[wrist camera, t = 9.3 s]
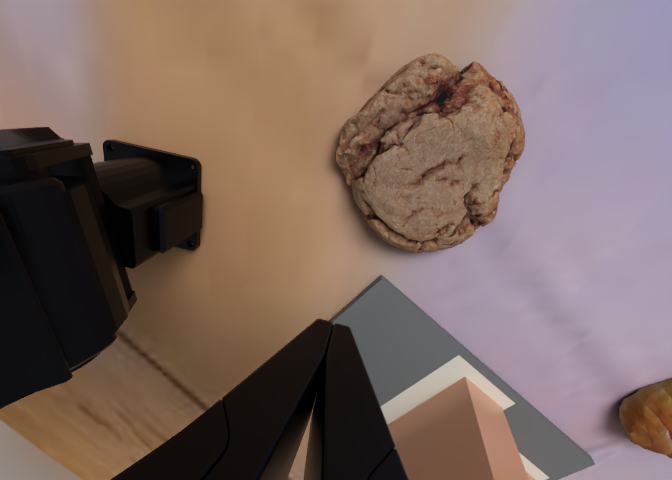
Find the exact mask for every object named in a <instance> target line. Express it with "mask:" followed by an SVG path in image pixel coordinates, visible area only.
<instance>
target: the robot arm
mask: <svg viewBox="0 0 672 480" xmlns="http://www.w3.org/2000/svg"><path fill="white" fill-rule="evenodd" d="M111 145H112V146H113V148H114V151H113V150H112V148H111ZM103 152H104V161H103V162H98V163H93V162H92V158H91V155H93V153H92V150H91V146H90V143H74V142H73V140H64V138H60V137H59V136H58V135H57V134H56V133H55V132H53V131H52V130H51V129H50V128H49V127H34V128H17V129H1V130H0V409H1V408H3V407H5V406H6V405H8V404H11V403H13V402H15V401H17V400H19V399H22V398H24V397H26V396H28V395H30V394H33V393H35V392H37V391H40V390H43V389H46V388H49V387H52V386H55V385H58V384H61V383H64V382H67V381H68V380H70V379H71V378H72V376H73V375H72V373H71V372H73V371H75V370H77V369H79V368H81V367H82V366H84V365H85V364H87V363H88V362H90V361H91V360H93V359H94V358H95V357H96V356H97V355H99V354H100V353H101V352H102V351H103V350H105V349H106V348H107V347H109V346H110V345H111V344H112V343H113V342H114V341H115V339H116V338H117V335H116V331H117V330H118V329H119V327H120V326H121V325H122V324H123V322H124V321H125V320H126V318H127V317H128V313H129V311H130V310H131V308H132V307H133V305H134V304H135V302H136V301H137V298H136V294H135V291H133V290H132V288H131V285H130V282H129V279H128V275H127V272H126V269H125V267H128V268H135V267H137V266H138V265H140V264H141V263H143V262H145V261H146V260H148V259H149V258H151V257H152V256H154V255H156V254H157V253H165V252H166V251H168V250H169V249H171V248H172V247H174V246H175V247H179V248H183V249H187V250H195V249H196V248H198V247H199V246H200V229H201V228H202V205H203V195H202V193H201V164H200V162H199V161H198V160H197V159H195V158H192V157H188V156H184V155H179V154H175V153H170V152H166V151H162V150H157V149H153V148H148V147H144V146H140V145H135V144H131V143H126V142H122V141H117V140H106V141H104V143H103ZM190 163H192V164H193V165H194V169H192V168H191V167H190ZM190 241H192V242H193V244H194V245H192V244H191V243H190ZM332 328H333V329H332ZM315 398H316V399H315ZM314 402H315V403H314ZM313 406H314V408H313ZM312 409H313V412H312ZM311 413H312V418H311V425H310V433H309V440H308V448H307V456H306V464H305V472H304V480H409V479H408V476H407V474H406V471H405V469H404V466H403V464H402V461H401V458H400V456H399V453H398V451H397V449H395V443H394V440H393V438H392V435H391V433H390V430H389V427H388V425H387V422H386V420H385V417H384V414H383V412H382V409H381V406H380V404H379V401H378V399H377V396H376V393H375V391H374V388H373V386H372V383H371V380H370V378H369V375H368V373H367V370H366V367H365V365H364V362H363V359H362V357H361V354H360V352H359V349H358V346H357V344H356V341H355V339H354V336H353V333H352V331H351V328H350V327H349V326H346V325H342V324H338V323H335V324H334V325H333V323H332V322H330V321H326V320H322V319H317V320H316V321H314V322H313V323H312V324H311V325H310V326H308V327H307V328H306V329H305V330H304V331H302V332H301V333H300V334H299V335H298V336H296V337H295V338H294V339H293V340H292V341H290V342H289V343H288V344H287V345H286V346H284V347H283V348H282V349H281V350H280V351H278V352H277V353H276V354H275V355H274V356H272V357H271V358H270V359H269V360H267V361H266V362H265V363H264V364H263V365H261V366H260V367H259V368H258V369H257V370H255V371H254V372H253V373H252V374H251V375H249V376H248V377H247V378H246V379H245V380H243V381H242V382H241V383H240V384H239V385H237V386H236V387H235V388H234V389H233V390H231V391H230V392H229V393H228V394H227V395H225V396H224V397H223V399H222V400H219V401H218V402H217V403H215V404H214V405H213V406H212V407H211V408H210V409H208V410H207V411H206V412H205V413H203V414H202V415H201V416H200V417H198V418H197V419H196V420H195V421H193V422H192V423H191V424H189V425H188V426H187V427H186V428H184V429H183V430H182V431H180V432H179V433H178V434H176V435H175V436H173V437H172V438H171V439H169V440H168V441H166V442H165V443H163V444H162V445H161V446H159V447H158V448H156V449H155V450H154V451H152V452H151V453H149V454H148V455H146V456H145V457H143V458H142V459H140V460H139V461H137V462H136V463H134V464H133V465H131V466H130V467H128V468H127V469H126V470H124V471H123V472H121V473H120V474H118V475H117V476H115V477H114V478H112V479H111V480H287V477H288V475H289V472H290V469H291V467H292V464H293V461H294V459H295V456H296V454H297V451H298V448H299V446H300V443H301V440H302V438H303V435H304V432H305V430H306V427H307V425H308V422H309V419H310V416H311Z"/></svg>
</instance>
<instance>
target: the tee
mask: <svg viewBox="0 0 672 480" xmlns="http://www.w3.org/2000/svg"><path fill="white" fill-rule="evenodd" d="M388 427H389V430H390V433H391V435H392V438H393V440H394V443H395V449H397V451H398V453H399V456H400V458H401V461H402V464H403V466H404V469H405V471H406V474H407V476H408V479H409V480H536V479H534V478H533V477H532V476H531V475H530V474H528V473H527V472H526V470H525V467H524V465H523V462H522V459H521V457H520V454H519V451H518V449H517V446H516V443H515V441H514V438H513V435H512V433H511V430H510V427H509V425H508V422H507V419H506V417H505V414H504V411H503V409H502V407H501V406H499V405H498V404H497V403H496V402H495V401H493V400H492V399H491V398H490V397H489V396H488V395H486V394H485V393H484V392H483V391H482V390H481V389H479V388H478V387H477V386H476V385H475V384H473V383H472V382H471V381H470V380H469V379H468V378H466V377H463V378H462V379H460V380H459V381H457V382H455V383H454V384H452V385H451V386H449V387H447V388H446V389H444V390H442V391H441V392H439V393H438V394H436V395H434V396H433V397H431V398H430V399H428V400H426V401H425V402H423V403H422V404H420V405H418V406H417V407H415V408H414V409H412V410H410V411H409V412H407V413H406V414H404V415H402V416H401V417H399V418H397V419H396V420H394V421H393V422H391V423H389V424H388Z"/></svg>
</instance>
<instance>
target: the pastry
mask: <svg viewBox="0 0 672 480" xmlns="http://www.w3.org/2000/svg"><path fill="white" fill-rule="evenodd" d="M619 418H620V421H621V423H622V425H623V427H624V429H625V431H626V434H627V436H628V438H629V439H630V440H631V442H633V443H635V444H638V445H640V446H641V447H643V448H644V449H648V450H651V451H653V452H656V453H661V454H664V455H667V456H668V457H670V458H672V378H671V379H668V380H665V381H661V382H658V383H655V384H651V385H648V386H645V387H643V388H640V389H639V390H638V391H637V392H636V393H635V394H633V395H631V396H628V397H626V398H625V399H623V402H622V404H621V405H620V407H619Z"/></svg>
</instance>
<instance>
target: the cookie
mask: <svg viewBox="0 0 672 480" xmlns="http://www.w3.org/2000/svg"><path fill="white" fill-rule="evenodd" d="M458 70H459V69H458V68H457V67H456V66H455V65H453V64H452V63H451V62H450V61H449V60H448V59H447V58H445V57H443V56H442V55H439V54H436V53H434V54H428V55H424V56H422V57H419V58H417V59H415V60H413V61H412V62H410V63H409V64H407V65H405V66H403V67H402V68H401V69H399V70H398V71H397V72H396V73H395V74H394V75H393V76H392V77H391V78H390V79H389V80H388V81H387V82H386V83H385V84H384V86H383V87H382V88H381V89H380V90H379V92H378V93H377V94H375V95H373V96H372V97H371V98H370V99H369V100H368V101H367V103H366V104H365V105H364V107H363V108H362V109H361V111H360V112H359V113H358V114H357V115H356V116H354V117H352V118H350V119H349V120H347V122H346V123H345V124H344V126H343V127H342V129H341V130H340V135H339V146H338V148H337V150H336V161H337V163H338V165H339V167H340V168H341V169H342V172H343V174H344V176H345V177H346V181H347V184H348V185H349V186H352V191H353V198H354V200H355V202H356V204H357V206H358V207H359V208H360V209H361V210H362V212H363V214H364V217H365V221H366V222H367V224H368V225H369V226H370V227H371V228H372V229H373V230H374V231H375V232H376V233H377V234H378V235H379V236H380V237H381V239H383V240H384V241H385V242H386V243H388V244H390V245H392V246H394V247H397V248H399V249H402V250H407V251H410V252H413V253H420V252H433V251H437V250H443V249H447V248H451V247H454V246H456V245H458V244H461V243H463V242H464V241H465V240H467V239H468V238H470V237H471V236H472V235H473V234H474V232H475V229H477V228H478V227H479V226H480V225H481V226H482V227H483V226H485V225H487V224H489V223H490V222H492V221H493V220H494V218H495V215H496V212H497V206H498V202H499V192H500V191H501V190H502V187H503V185H504V184H505V183H506V182H507V181H508V179H509V178H510V173H511V170H512V168H513V167H514V166H515V164H516V162H515V161H516V160H518V159H519V158H520V156H521V154H522V152H523V149H524V145H525V131H524V126H523V123H522V120H521V114H520V110H519V107H518V105H517V103H516V102H515V99H514V97H513V95H512V94H511V93H510V92H509V91H508V90H507V89H506V87H505V86H504V84H503V82H502V81H500V82H499V81H497V80H496V79H495V78H494V77H492V76H491V75H490V74H489V73H488V72H487V71H486V70H485V68H484V67H483V66H481V65H480V64H479V63H477V62H472V63H471V64H469V66H467V67H465V68H464V69H463V72H462V73H460V72H459V71H458Z"/></svg>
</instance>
